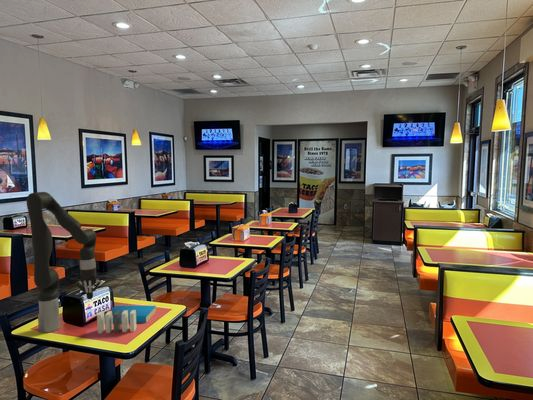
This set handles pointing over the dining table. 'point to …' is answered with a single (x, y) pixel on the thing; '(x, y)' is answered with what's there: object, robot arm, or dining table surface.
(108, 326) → the domino
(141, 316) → the book
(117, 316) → the domino
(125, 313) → the domino
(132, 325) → the domino
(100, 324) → the domino
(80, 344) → the dining table surface
